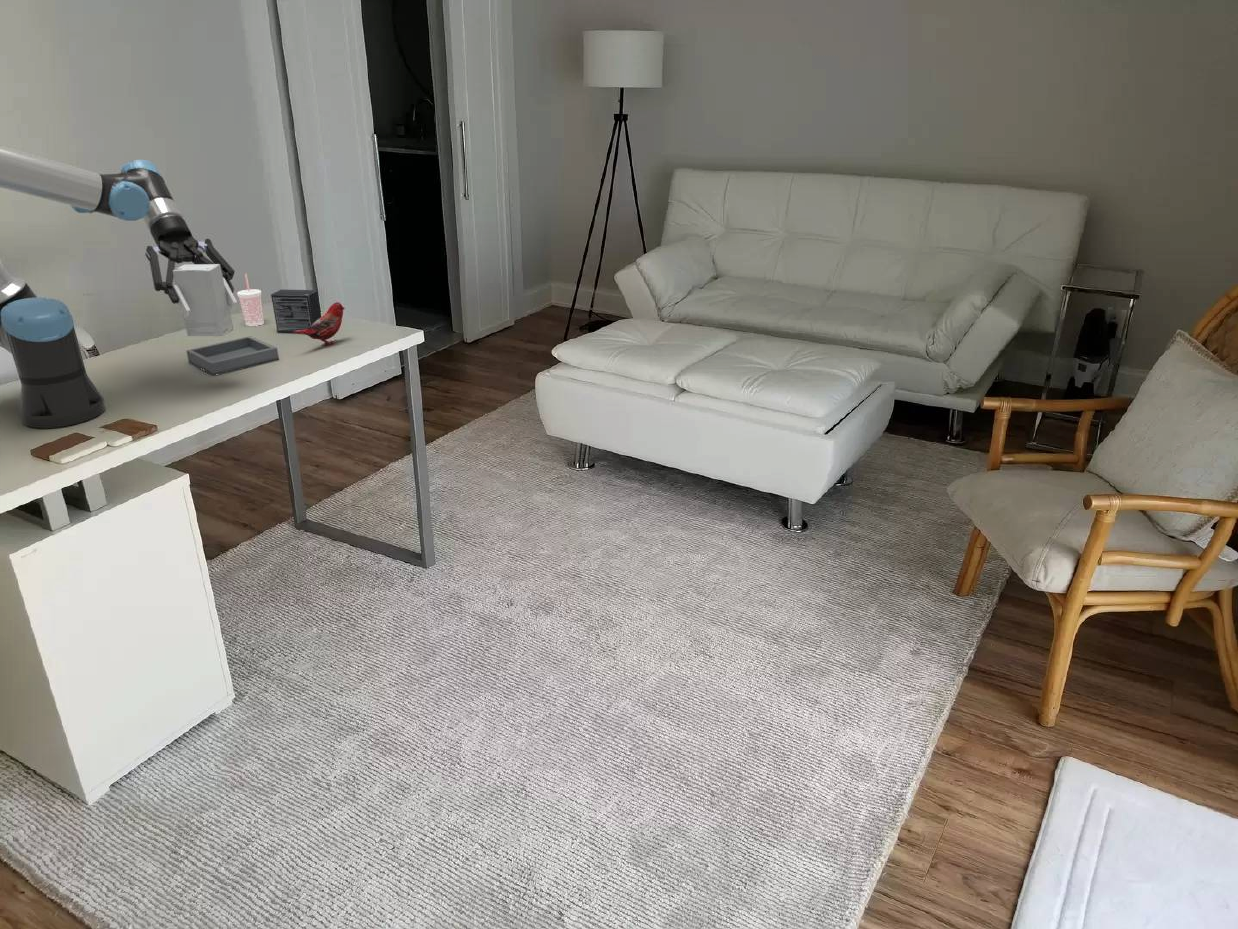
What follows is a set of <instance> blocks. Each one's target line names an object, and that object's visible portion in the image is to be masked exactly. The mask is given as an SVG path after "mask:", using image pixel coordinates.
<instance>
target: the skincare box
mask: <svg viewBox="0 0 1238 929" xmlns="http://www.w3.org/2000/svg"><path fill="white" fill-rule="evenodd" d="M173 275H174V277H173V280H174V282H175V285H178V287H179V289H180V291H181V293H182V295H183V297H184V299H185V301H186V303H187V305H188V307H189V309H190V313H189V316H188V317H187V318H184V316H183V315H182V317H183V321H184V325H185V330H186V335H187V337H224V336H226V335H228V334H230V333H231V332H232V331H234V324H233V323H234V322H233V318H232V315H231V308H230V306H229V304H228V299H227V295H226V290H225V285H224V280H223V276H222V271H221V267H220V264H194V263H192V264H191V263H190V264H189V263H187V264H186V263H185V264H183V265H180V266H179V267H177V268H175V269H174V270H173Z"/></svg>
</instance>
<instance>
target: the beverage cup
mask: <svg viewBox="0 0 1238 929" xmlns="http://www.w3.org/2000/svg"><path fill="white" fill-rule="evenodd" d="M244 276H245V282H246V288H247V289H244V290H238V292H236V295H237V297H238V298H239V303H240V307H241V311H242V314H243V318H244V323H245V326H246V325H248V326H256V327H259V326H258V325H261V326H263V325H264V324H265V322H264V314H263V306H262V305H263V304H262V290H261V289H258V288H257V289H256V288H255V289H254V288H253V289H251V288H250V286H249V285H250V284H249V279H248V274H247V272H246V273H244ZM248 326H247V327H248Z"/></svg>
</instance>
